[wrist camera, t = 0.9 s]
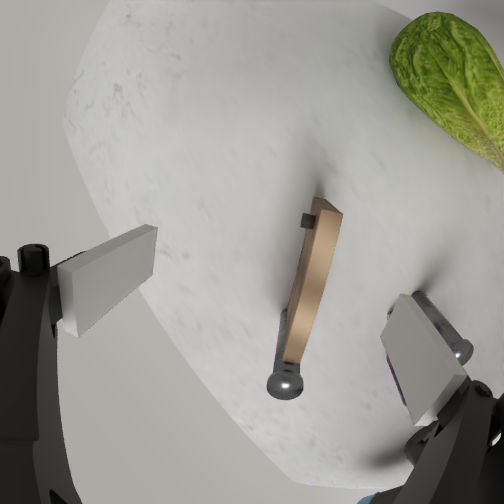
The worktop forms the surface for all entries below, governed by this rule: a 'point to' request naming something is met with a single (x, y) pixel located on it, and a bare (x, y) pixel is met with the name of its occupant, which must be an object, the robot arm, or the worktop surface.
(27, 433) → the robot arm
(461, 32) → the lettuce
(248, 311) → the worktop surface
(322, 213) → the gate
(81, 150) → the worktop surface
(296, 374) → the hinge post
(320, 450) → the worktop surface
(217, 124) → the worktop surface
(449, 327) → the post
